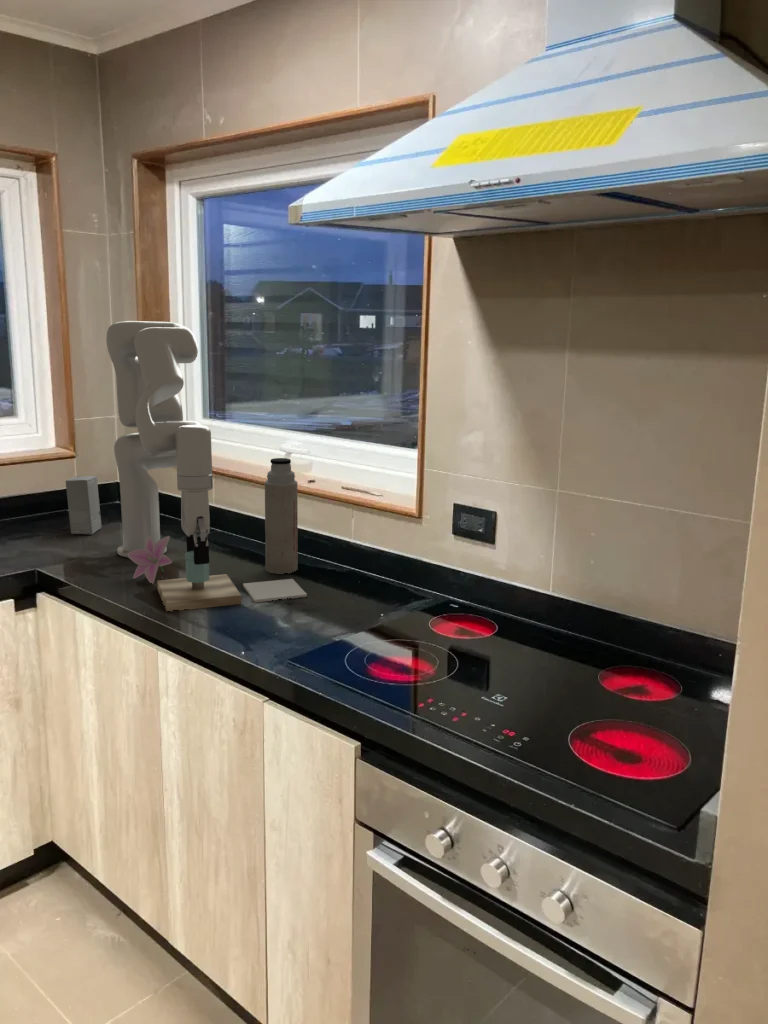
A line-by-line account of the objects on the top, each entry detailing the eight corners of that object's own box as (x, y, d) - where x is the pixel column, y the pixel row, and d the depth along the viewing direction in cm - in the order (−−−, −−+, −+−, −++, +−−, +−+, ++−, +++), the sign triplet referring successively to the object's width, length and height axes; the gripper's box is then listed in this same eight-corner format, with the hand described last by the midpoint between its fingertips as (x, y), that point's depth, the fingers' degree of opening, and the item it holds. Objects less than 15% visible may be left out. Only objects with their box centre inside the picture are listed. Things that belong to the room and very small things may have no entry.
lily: (127, 575, 203) (114, 547, 196) (170, 551, 207) (158, 523, 201) (148, 601, 195) (135, 573, 188) (191, 576, 199) (180, 548, 193)
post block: (157, 588, 189) (155, 551, 187) (226, 582, 195) (225, 545, 193) (166, 611, 175) (165, 571, 173) (241, 603, 181) (240, 564, 179)
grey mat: (242, 586, 193) (242, 583, 193) (292, 581, 197) (292, 578, 197) (254, 602, 182) (254, 599, 182) (306, 596, 186) (306, 594, 186)
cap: (184, 576, 186) (183, 551, 184) (207, 574, 187) (206, 549, 186) (187, 583, 181) (186, 557, 180) (211, 581, 183) (210, 555, 181)
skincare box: (92, 535, 234) (89, 480, 230) (67, 534, 234) (63, 479, 230) (103, 527, 242) (99, 474, 238) (78, 527, 242) (75, 474, 238)
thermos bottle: (301, 566, 209) (301, 457, 203) (292, 575, 202) (291, 462, 195) (271, 563, 211) (270, 455, 204) (261, 572, 203) (259, 460, 197)
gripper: (171, 476, 185) (175, 550, 189) (183, 490, 170) (186, 570, 173) (205, 474, 188) (207, 547, 192) (219, 488, 173) (222, 566, 176)
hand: (197, 558), depth 183 cm, fingers open, 9 cm apart
